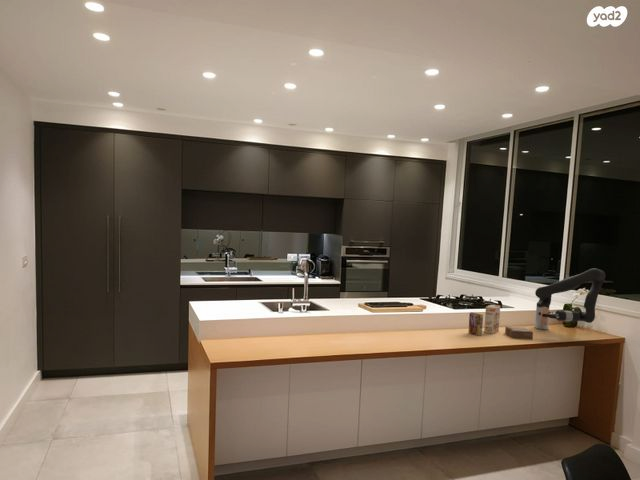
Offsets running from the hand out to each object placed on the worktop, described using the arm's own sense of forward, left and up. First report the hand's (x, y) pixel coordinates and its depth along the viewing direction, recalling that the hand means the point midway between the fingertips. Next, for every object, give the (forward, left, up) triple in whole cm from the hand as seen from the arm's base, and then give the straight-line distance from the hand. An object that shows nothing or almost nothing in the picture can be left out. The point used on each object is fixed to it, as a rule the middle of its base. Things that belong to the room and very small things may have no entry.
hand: (540, 314), depth 326 cm
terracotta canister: (0, +3, -7) cm, 7 cm away
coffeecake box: (-10, -31, -17) cm, 37 cm away
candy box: (+1, -47, -17) cm, 50 cm away
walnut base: (0, -15, -17) cm, 23 cm away
